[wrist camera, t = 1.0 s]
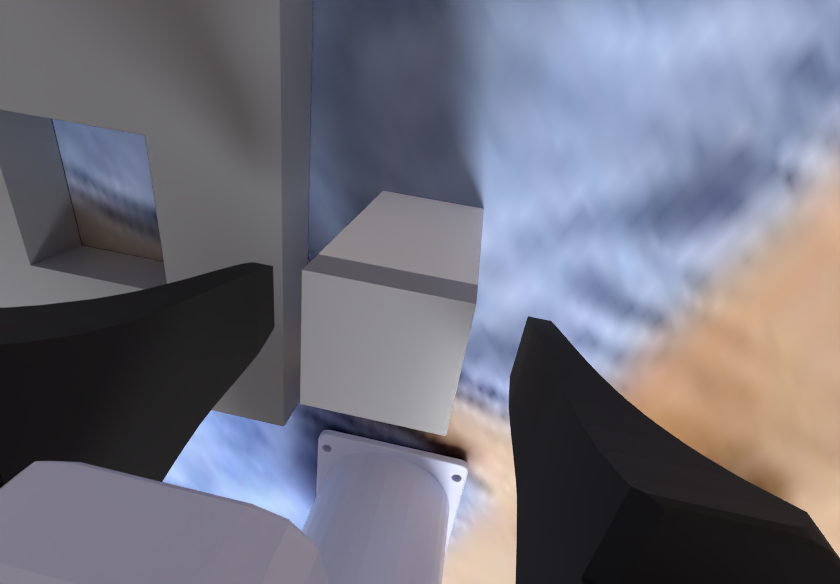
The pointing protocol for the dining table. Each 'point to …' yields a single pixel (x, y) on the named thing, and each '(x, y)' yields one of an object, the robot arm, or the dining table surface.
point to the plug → (392, 312)
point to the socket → (165, 154)
